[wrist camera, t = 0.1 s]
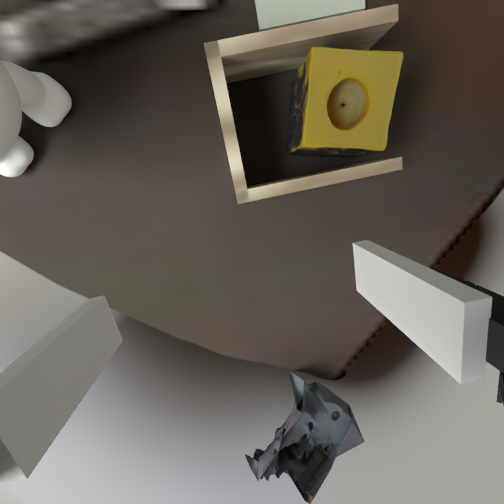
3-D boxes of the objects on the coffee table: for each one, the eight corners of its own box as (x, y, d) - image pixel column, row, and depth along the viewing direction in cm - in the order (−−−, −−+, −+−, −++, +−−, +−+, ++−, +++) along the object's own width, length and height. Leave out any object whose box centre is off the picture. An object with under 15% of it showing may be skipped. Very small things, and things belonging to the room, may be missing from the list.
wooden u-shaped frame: (210, 73, 34) (203, 43, 26) (361, 42, 34) (398, 3, 27) (237, 199, 39) (238, 203, 31) (369, 171, 39) (402, 169, 32)
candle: (361, 83, 36) (407, 48, 26) (350, 159, 39) (388, 152, 29) (290, 78, 35) (311, 39, 25) (284, 155, 38) (302, 147, 28)
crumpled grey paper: (358, 406, 53) (383, 451, 44) (292, 463, 56) (303, 516, 47) (298, 362, 49) (312, 402, 40) (230, 426, 52) (230, 476, 43)
